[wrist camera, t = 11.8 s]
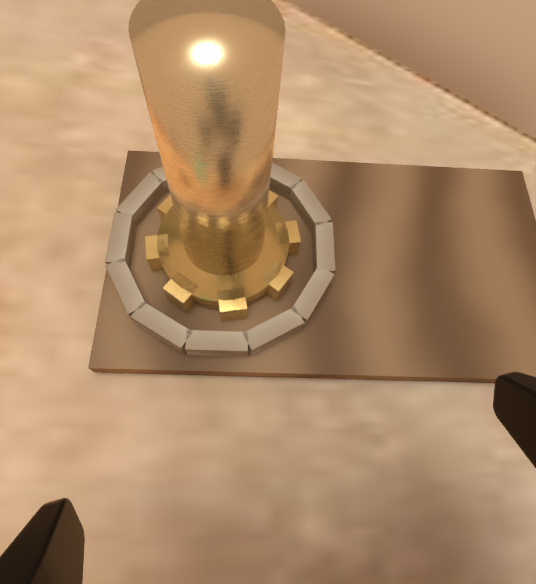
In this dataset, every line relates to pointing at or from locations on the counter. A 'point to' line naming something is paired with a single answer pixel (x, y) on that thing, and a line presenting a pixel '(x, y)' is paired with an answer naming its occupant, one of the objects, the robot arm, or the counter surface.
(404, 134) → the counter surface
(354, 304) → the carrier plate
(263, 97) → the gold piece
